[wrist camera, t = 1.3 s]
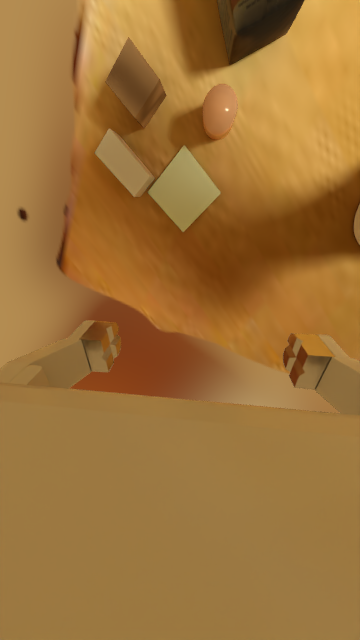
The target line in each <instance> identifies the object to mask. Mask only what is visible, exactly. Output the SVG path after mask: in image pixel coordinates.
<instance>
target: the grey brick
mask: <svg viewBox="0 0 360 640" xmlns="http://www.w3.org/2000/svg"><path fill="white" fill-rule="evenodd" d="M95 154H96V155H97V157H98V158H99V159H100V160H101V161H102V162H103V163H104V164H105V165H106V167H107V168H108V169H109V170H110V171H111V172H112V173H113V174H114V175H115V177H116V178H117V179H118V180H119V181H120V182H121V183H122V184H123V185H124V186H125V188H126V189H127V190H128V191H129V192H130V193H131V194H132V195H133V196H134V197H141V196H142V194H143V193H144V192H145V191H146V189H147V188H148V187H149V185H150V184H151V183H152V182H153V180H154V179H155V177H154V176H153V175H152V174H151V172H150V171H149V170H148V169H147V168H146V166H145V165H144V164H143V163H142V162H141V160H140V159H139V158H138V157H137V156H136V154H135V153H134V152H133V151H132V150H131V148H130V147H129V146H128V145H127V144H126V142H125V141H124V140H123V139H122V138H121V137H120V135H119V134H117V133H116V132H114V131H113V130H111V129H110V128H109V129H108V131H107V133H106V134H105V136H104V138H103V139H102V141H101V143H100V144H99V146H98V148H97V149H96V151H95Z"/></svg>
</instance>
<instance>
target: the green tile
mask: <svg viewBox="0 0 360 640" xmlns="http://www.w3.org/2000/svg"><path fill="white" fill-rule="evenodd" d="M148 194H149V195H150V196H151V197H152V198H153V199H154V200H155V201H156V203H157V204H158V205H159V206H160V207H161V208H162V209H163V210H164V212H165V213H166V214H167V215H168V216H169V217H170V218H171V219H172V221H173V222H174V223H175V224H176V225H177V226H178V227H179V228H180V230H181V231H182V232H184V231H185V230H186V229H187V228H188V227H189V226H190V225H191V224H192V223H193V222H194V221H195V220H196V219H197V218H198V217H199V215H200V214H201V213H202V212H203V211H204V210H205V209H206V208H207V207H208V206H209V205H210V204H211V203H212V202H213V201H214V200H215V199H216V198H217V197H218V196H219V195H220V194H221V192H220V191H219V189H218V188H217V187H216V186H215V184H214V183H213V182H212V180H211V179H210V178H209V176H208V175H207V174H206V172H205V171H204V170H203V168H202V167H201V166H200V165H199V163H198V162H197V161H196V159H195V158H194V157H193V155H192V154H191V153H190V151H189V150H188V149H187V147H186V146H185V145H184V146H183V147H182V148H181V150H180V151H179V152H178V154H177V155H176V156H175V157H174V159H173V160H172V161H171V163H170V164H169V165H168V167H167V168H166V169H165V170H164V172H163V173H162V174H161V176H160V177H159V178H158V179H157V181H156V182H155V183H154V185H153V186H152V187H151V188H150V190H149V191H148Z"/></svg>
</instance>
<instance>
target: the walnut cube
mask: <svg viewBox="0 0 360 640" xmlns="http://www.w3.org/2000/svg"><path fill="white" fill-rule="evenodd" d="M106 83H107V85H108V86H109V87H110V88H111V90H112V91H113V92H114V93H115V94H116V96H117V97H118V98H119V99H120V101H121V102H122V103H123V104H124V106H125V107H126V108H127V109H128V111H129V112H130V113H131V114H132V115H133V117H134V118H135V119H136V120H137V121H138V122H139V123H140V124H141V125H142V126H143V128H145V127H146V125H147V124H148V122H149V121H150V119H151V118H152V116H153V115H154V113H155V112H156V110H157V109H158V107H159V106H160V104H161V103H162V101H163V100H164V98H165V97H166V94H165V91H164V89H163V87H162V84H161V82H160V79H159V78H158V77H157V75H156V74H155V73H154V71H153V70H152V68H151V67H150V66H149V64H148V63H147V62H146V60H145V59H144V57H143V56H142V55H141V53H140V52H139V51H138V49H137V48H136V47H135V45H134V44H133V42H132V41H131V40H130V38H129V37H128V39H127V41H126V43H125V45H124V47H123V49H122V51H121V53H120V55H119V57H118V59H117V61H116V62H115V64H114V66H113V68H112V70H111V72H110V74H109V76H108V78H107V80H106Z"/></svg>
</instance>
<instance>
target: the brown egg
mask: <svg viewBox="0 0 360 640" xmlns="http://www.w3.org/2000/svg"><path fill="white" fill-rule="evenodd" d="M237 106H238V104H237V97H236V94H235V92H234V90H233V89H232V88H231V87H230V86H228V85H226V84H219V85H216V86H215V87H213V88H212V89H211V90H210V91H209V92H208V94H207V96H206V98H205V100H204V104H203V125H204V130H205V132H206V134H207V135H208V136H209V137H210V138H211V139H214V140H219V139H222V138H224V137H225V136H226V135H227V134H228V133H229V131H230V130H231V127H232V124H233V122H234V119H235V116H236V113H237Z"/></svg>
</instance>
